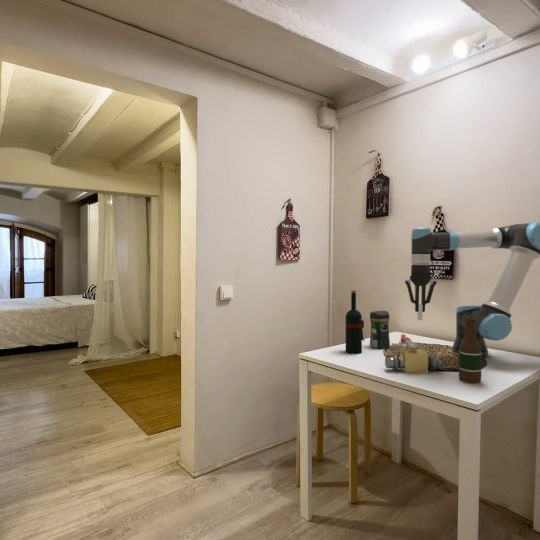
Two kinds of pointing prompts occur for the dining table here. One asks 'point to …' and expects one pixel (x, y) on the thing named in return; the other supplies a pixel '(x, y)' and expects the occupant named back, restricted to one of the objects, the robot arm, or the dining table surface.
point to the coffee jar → (379, 329)
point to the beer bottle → (470, 354)
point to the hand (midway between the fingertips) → (419, 319)
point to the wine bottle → (354, 328)
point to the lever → (409, 343)
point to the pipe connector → (400, 344)
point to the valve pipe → (413, 361)
